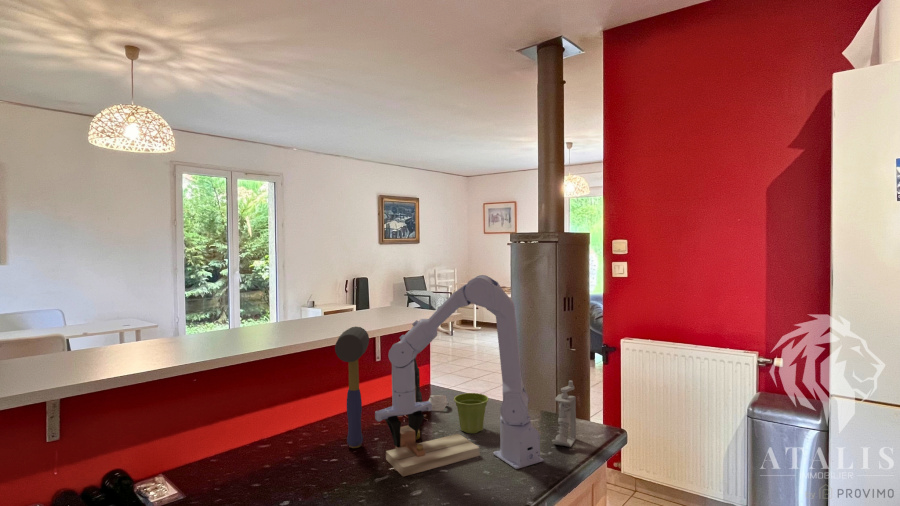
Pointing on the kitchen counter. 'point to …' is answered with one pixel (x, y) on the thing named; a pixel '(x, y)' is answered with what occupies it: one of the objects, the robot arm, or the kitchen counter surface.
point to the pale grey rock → (438, 402)
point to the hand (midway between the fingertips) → (404, 443)
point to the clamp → (566, 417)
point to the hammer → (417, 389)
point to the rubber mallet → (353, 378)
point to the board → (432, 454)
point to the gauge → (410, 441)
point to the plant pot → (471, 411)
